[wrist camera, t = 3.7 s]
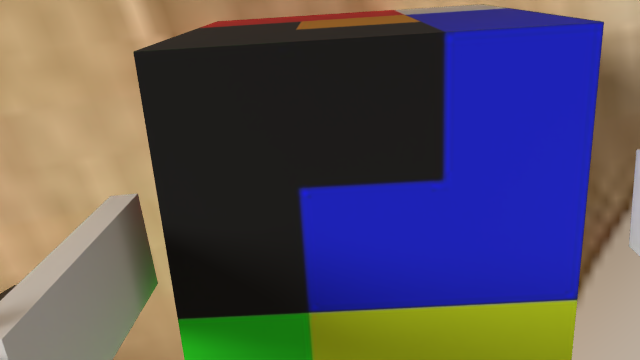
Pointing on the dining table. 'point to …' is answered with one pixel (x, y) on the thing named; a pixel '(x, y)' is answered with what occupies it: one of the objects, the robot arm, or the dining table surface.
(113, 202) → the robot arm
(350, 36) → the puzzle toy
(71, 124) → the dining table surface
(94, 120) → the dining table surface
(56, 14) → the dining table surface
